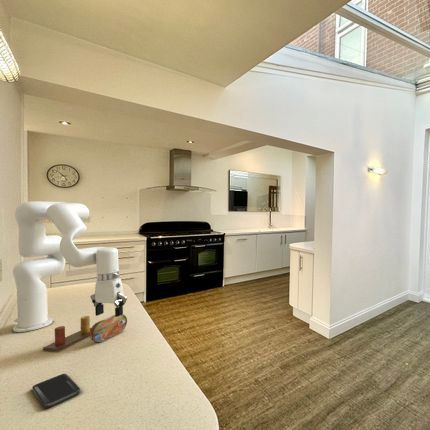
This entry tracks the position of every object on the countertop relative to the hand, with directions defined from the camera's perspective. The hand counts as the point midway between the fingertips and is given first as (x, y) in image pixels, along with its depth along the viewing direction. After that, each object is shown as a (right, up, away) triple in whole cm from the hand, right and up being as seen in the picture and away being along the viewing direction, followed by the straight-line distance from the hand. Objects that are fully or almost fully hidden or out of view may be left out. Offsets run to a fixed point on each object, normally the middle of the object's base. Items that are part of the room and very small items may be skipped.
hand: (109, 315), depth 115 cm
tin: (-1, -10, 0) cm, 10 cm away
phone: (+11, -11, -33) cm, 37 cm away
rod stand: (-13, -10, -3) cm, 16 cm away
